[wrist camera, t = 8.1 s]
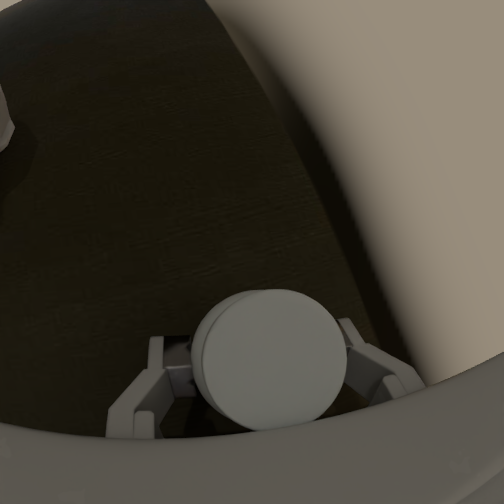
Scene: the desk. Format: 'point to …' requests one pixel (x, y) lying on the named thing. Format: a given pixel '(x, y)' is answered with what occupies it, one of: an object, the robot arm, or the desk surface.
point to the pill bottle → (269, 358)
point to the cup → (4, 123)
